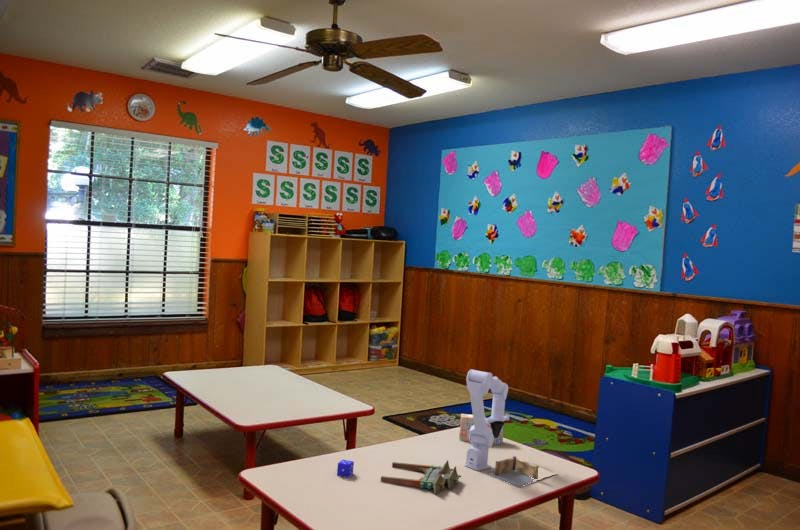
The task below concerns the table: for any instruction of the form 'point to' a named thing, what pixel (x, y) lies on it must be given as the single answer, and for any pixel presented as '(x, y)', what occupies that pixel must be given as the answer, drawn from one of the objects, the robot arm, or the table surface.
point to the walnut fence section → (505, 466)
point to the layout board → (513, 478)
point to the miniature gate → (426, 476)
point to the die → (345, 468)
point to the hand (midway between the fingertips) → (495, 437)
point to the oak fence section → (526, 468)
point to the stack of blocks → (468, 422)
